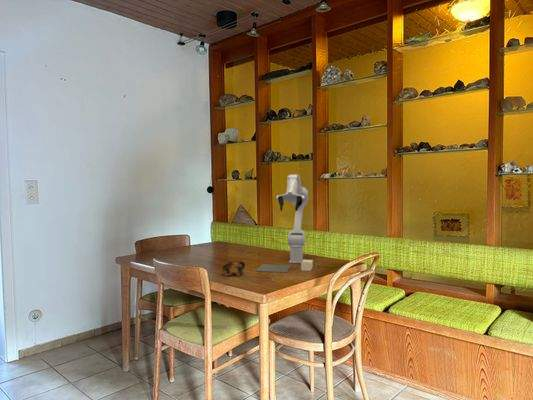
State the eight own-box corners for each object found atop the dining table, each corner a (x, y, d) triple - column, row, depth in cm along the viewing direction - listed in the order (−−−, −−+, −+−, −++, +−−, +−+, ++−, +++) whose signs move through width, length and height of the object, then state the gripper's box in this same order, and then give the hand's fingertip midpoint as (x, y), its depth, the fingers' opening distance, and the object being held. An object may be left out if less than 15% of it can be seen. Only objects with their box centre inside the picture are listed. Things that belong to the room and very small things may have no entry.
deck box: (303, 266, 219) (303, 259, 219) (312, 267, 218) (312, 259, 218) (301, 270, 210) (301, 263, 210) (310, 271, 209) (310, 263, 209)
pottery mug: (233, 279, 194) (225, 264, 195) (225, 284, 201) (217, 269, 202) (251, 269, 202) (244, 254, 203) (242, 274, 209) (235, 260, 210)
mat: (262, 264, 223) (262, 264, 223) (291, 266, 220) (291, 265, 220) (255, 271, 208) (255, 270, 208) (286, 272, 204) (286, 272, 204)
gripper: (277, 185, 211) (273, 203, 201) (304, 185, 208) (302, 203, 198) (278, 195, 216) (275, 213, 206) (305, 195, 213) (303, 213, 203)
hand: (288, 209), depth 203 cm, fingers open, 7 cm apart
